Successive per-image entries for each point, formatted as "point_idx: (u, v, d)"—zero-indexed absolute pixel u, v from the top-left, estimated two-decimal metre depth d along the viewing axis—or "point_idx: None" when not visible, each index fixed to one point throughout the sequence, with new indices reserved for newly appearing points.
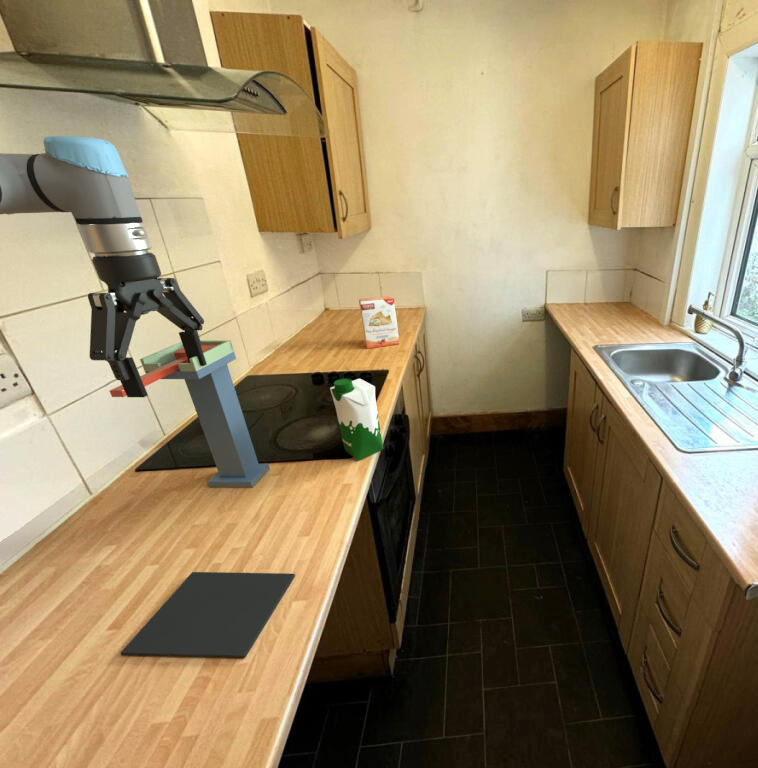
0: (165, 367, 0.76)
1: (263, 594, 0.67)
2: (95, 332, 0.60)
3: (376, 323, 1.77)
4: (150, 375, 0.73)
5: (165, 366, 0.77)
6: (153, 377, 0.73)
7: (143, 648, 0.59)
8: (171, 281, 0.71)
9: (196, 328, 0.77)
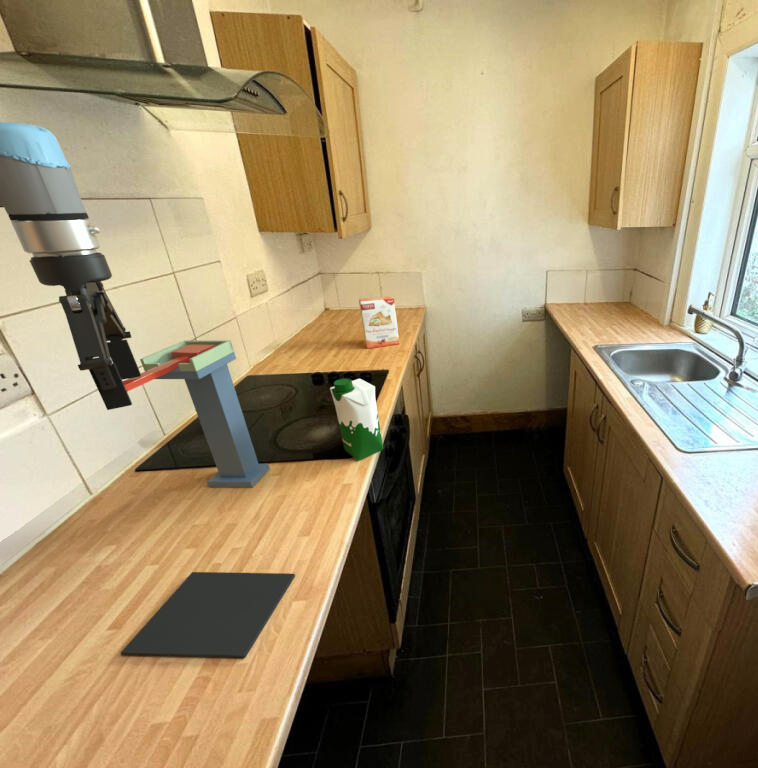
0: (159, 367, 0.76)
1: (263, 594, 0.67)
2: (80, 337, 0.55)
3: (376, 323, 1.77)
4: (142, 376, 0.73)
5: (160, 366, 0.77)
6: (145, 378, 0.73)
7: (143, 648, 0.59)
8: (100, 284, 0.65)
9: (126, 336, 0.70)
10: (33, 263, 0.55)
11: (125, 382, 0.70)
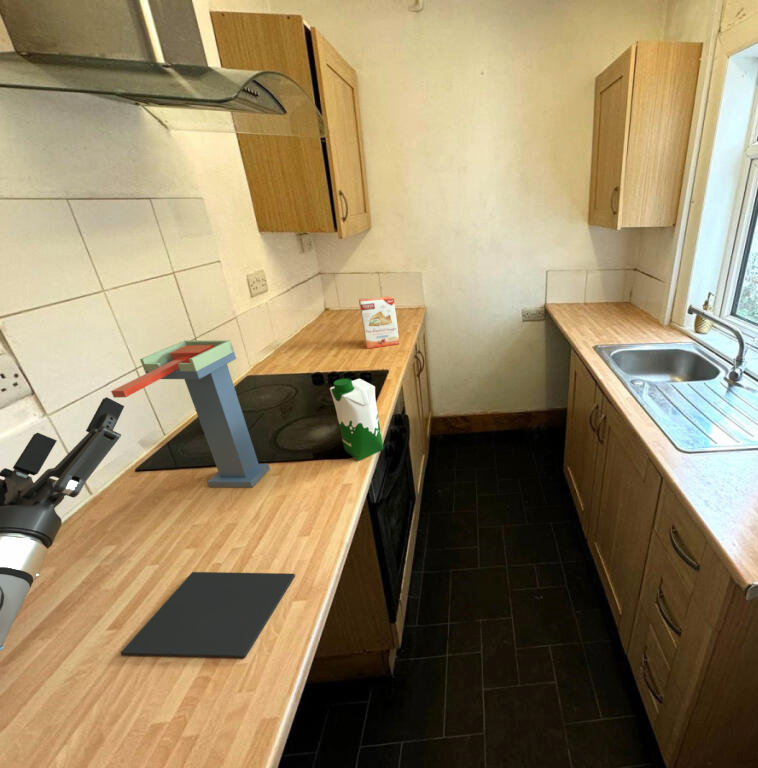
0: (164, 367, 0.76)
1: (263, 594, 0.67)
2: None
3: (376, 323, 1.77)
4: (150, 376, 0.73)
5: (163, 366, 0.77)
6: (153, 377, 0.73)
7: (143, 648, 0.59)
8: None
9: None
10: None
11: (134, 382, 0.70)
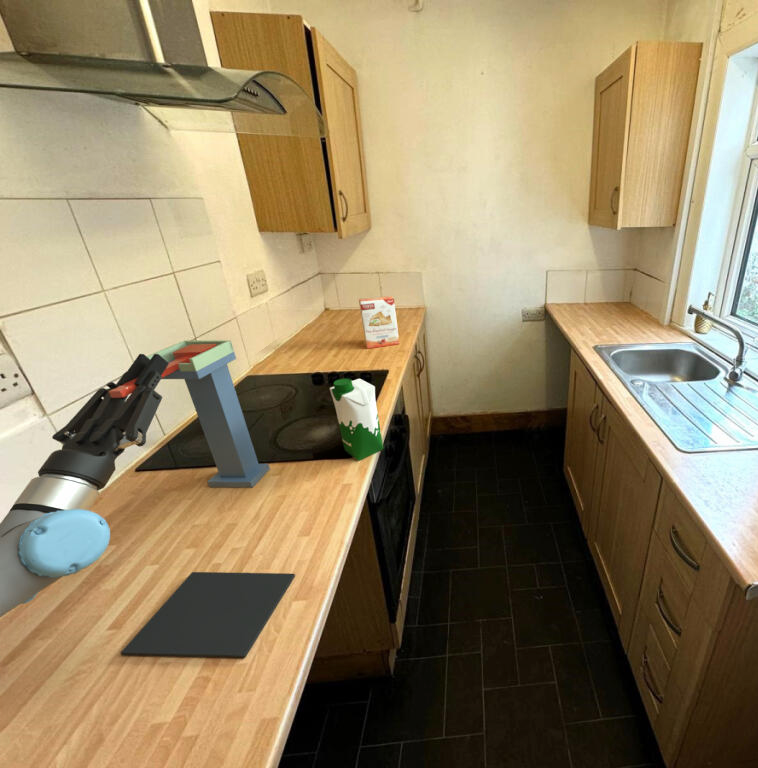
0: None
1: (263, 594, 0.67)
2: None
3: (376, 323, 1.77)
4: None
5: None
6: None
7: (143, 648, 0.59)
8: None
9: None
10: None
11: (133, 382, 0.70)
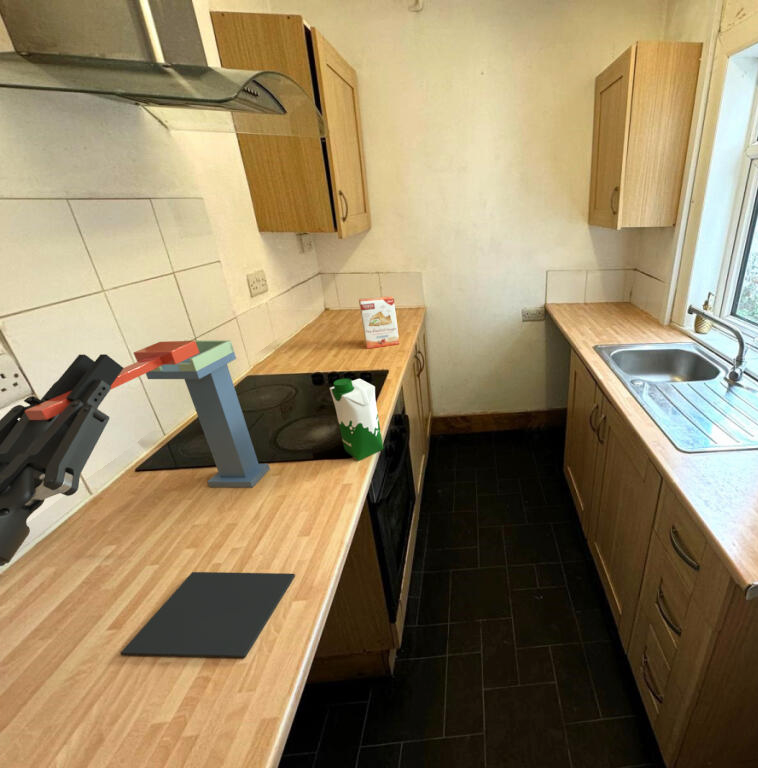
0: None
1: (263, 594, 0.67)
2: None
3: (376, 323, 1.77)
4: None
5: None
6: None
7: (143, 648, 0.59)
8: None
9: None
10: None
11: (66, 396, 0.48)
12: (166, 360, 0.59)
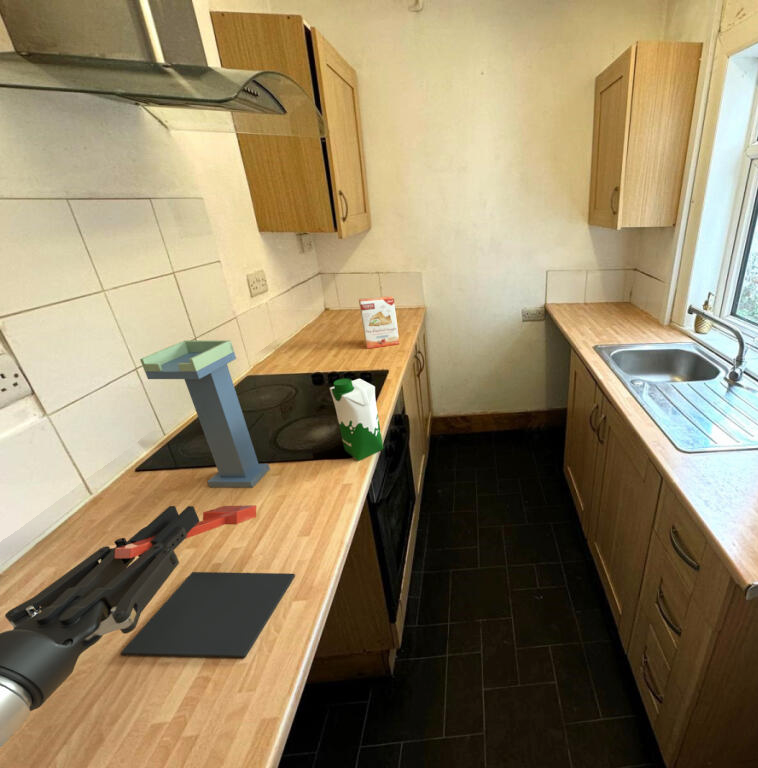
0: None
1: (263, 594, 0.67)
2: None
3: (376, 323, 1.77)
4: None
5: None
6: None
7: (143, 648, 0.59)
8: None
9: None
10: None
11: (149, 540, 0.54)
12: (229, 520, 0.66)
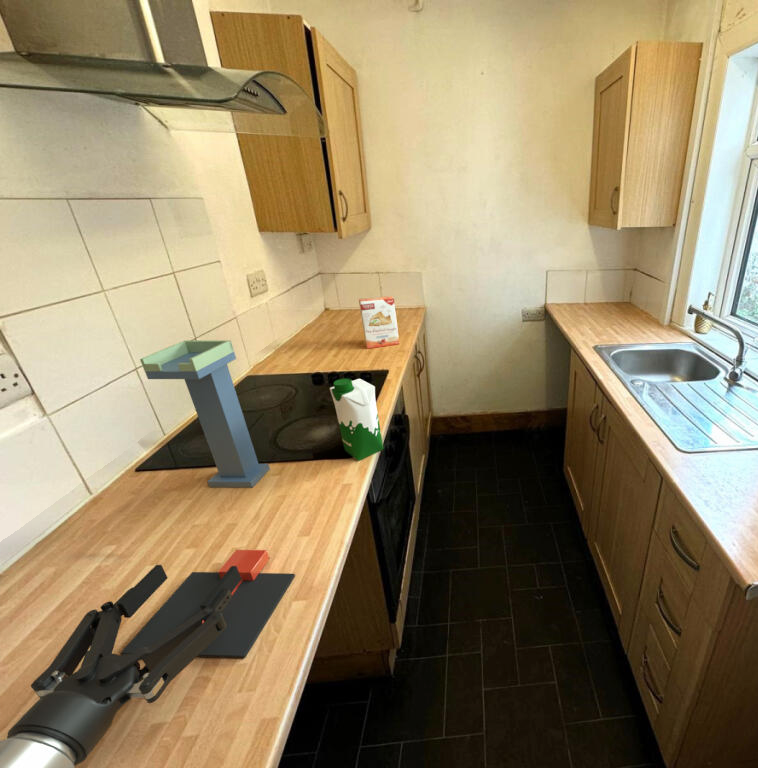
0: None
1: (263, 594, 0.67)
2: None
3: (376, 323, 1.77)
4: None
5: None
6: None
7: None
8: None
9: None
10: (15, 724, 0.41)
11: None
12: (245, 578, 0.69)
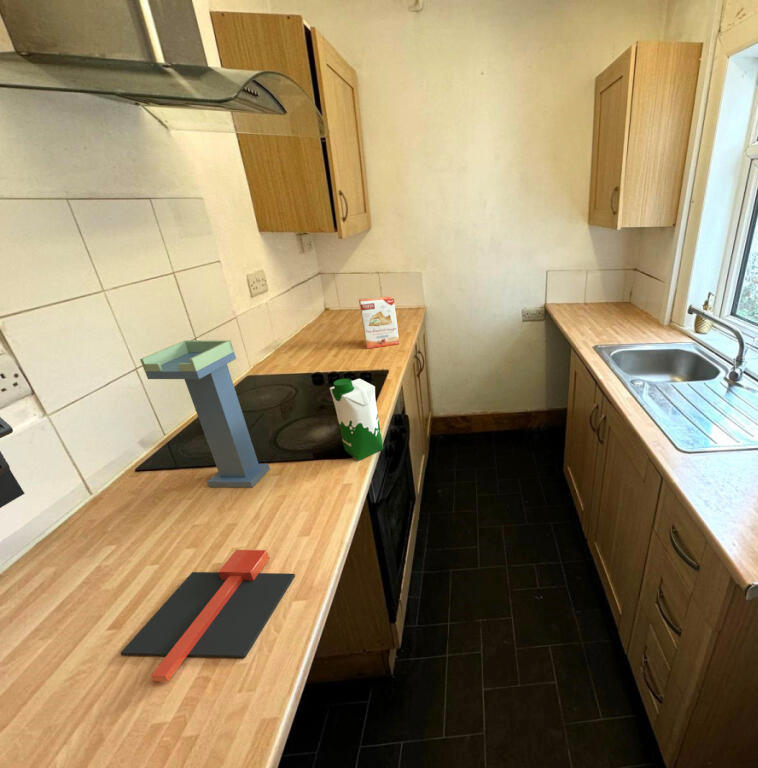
0: (212, 607, 0.64)
1: (263, 594, 0.67)
2: None
3: (376, 323, 1.77)
4: (196, 632, 0.60)
5: (211, 604, 0.64)
6: (200, 632, 0.61)
7: (143, 648, 0.59)
8: None
9: None
10: None
11: (178, 649, 0.58)
12: (245, 578, 0.69)
